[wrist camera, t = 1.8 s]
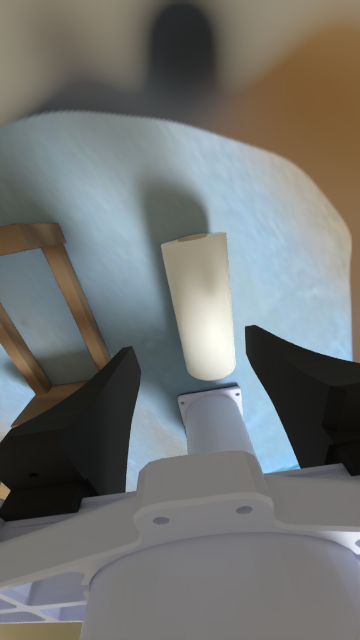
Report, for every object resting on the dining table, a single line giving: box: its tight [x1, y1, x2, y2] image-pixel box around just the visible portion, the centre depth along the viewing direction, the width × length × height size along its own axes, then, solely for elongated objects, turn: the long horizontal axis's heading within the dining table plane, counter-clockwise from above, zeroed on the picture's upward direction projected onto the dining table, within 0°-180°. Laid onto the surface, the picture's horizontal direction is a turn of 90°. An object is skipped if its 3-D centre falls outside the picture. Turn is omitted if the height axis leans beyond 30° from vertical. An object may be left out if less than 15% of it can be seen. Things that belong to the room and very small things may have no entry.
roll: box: [160, 232, 236, 381], centre depth 18 cm, size 12×5×5 cm
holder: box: [0, 223, 111, 428], centre depth 18 cm, size 18×10×5 cm, turn 10°
